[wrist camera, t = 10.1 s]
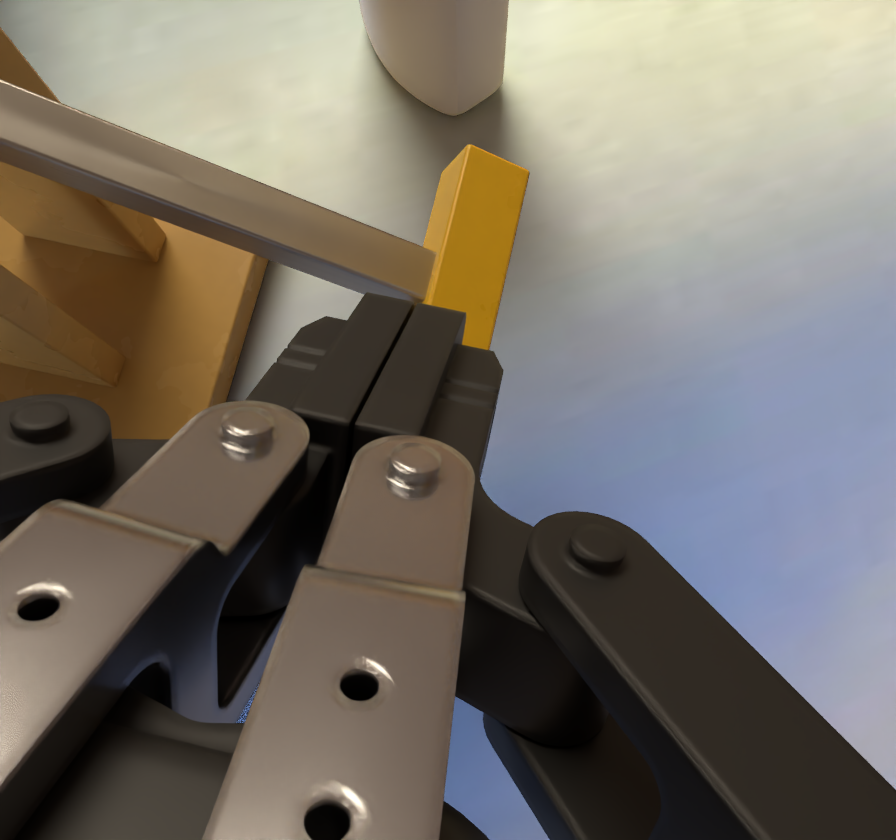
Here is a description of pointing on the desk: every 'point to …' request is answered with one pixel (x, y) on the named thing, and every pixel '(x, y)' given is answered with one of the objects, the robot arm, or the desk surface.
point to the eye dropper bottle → (440, 48)
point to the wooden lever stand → (114, 299)
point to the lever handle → (286, 209)
